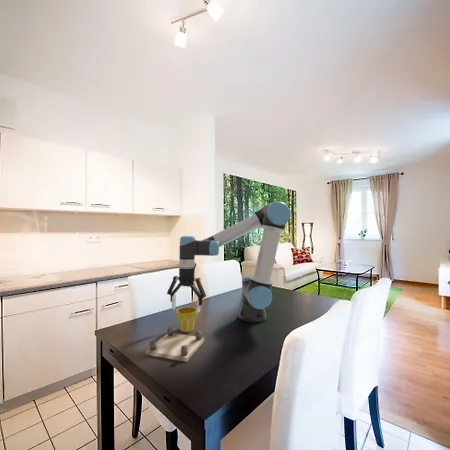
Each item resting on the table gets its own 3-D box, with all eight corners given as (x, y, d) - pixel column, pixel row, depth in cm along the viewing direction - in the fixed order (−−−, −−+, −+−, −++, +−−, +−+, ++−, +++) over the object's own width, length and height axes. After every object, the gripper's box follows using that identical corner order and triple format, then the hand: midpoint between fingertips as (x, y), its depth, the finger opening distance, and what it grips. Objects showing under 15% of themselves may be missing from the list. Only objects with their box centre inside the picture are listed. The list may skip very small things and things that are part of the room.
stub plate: (204, 341, 113) (204, 331, 113) (186, 361, 96) (186, 349, 96) (168, 335, 118) (168, 326, 118) (145, 354, 101) (145, 343, 101)
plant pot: (171, 332, 122) (172, 311, 122) (183, 324, 132) (183, 305, 132) (190, 335, 118) (190, 314, 118) (200, 327, 128) (200, 308, 128)
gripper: (160, 266, 125) (159, 309, 125) (207, 270, 118) (206, 315, 118) (168, 264, 133) (167, 305, 132) (213, 267, 125) (212, 310, 125)
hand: (185, 310), depth 125 cm, fingers open, 13 cm apart
